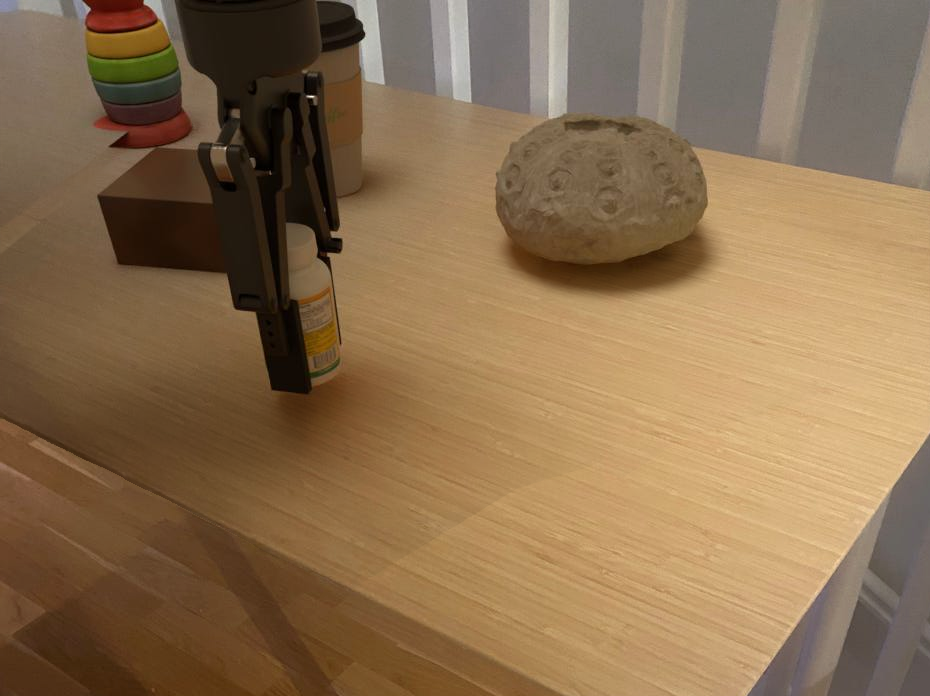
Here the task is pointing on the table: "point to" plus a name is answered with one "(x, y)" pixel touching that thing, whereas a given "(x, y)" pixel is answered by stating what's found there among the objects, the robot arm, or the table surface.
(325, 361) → the supplement bottle
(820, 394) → the table surface
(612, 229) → the decorative shell
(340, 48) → the coffee cup
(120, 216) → the block
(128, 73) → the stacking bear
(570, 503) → the table surface
